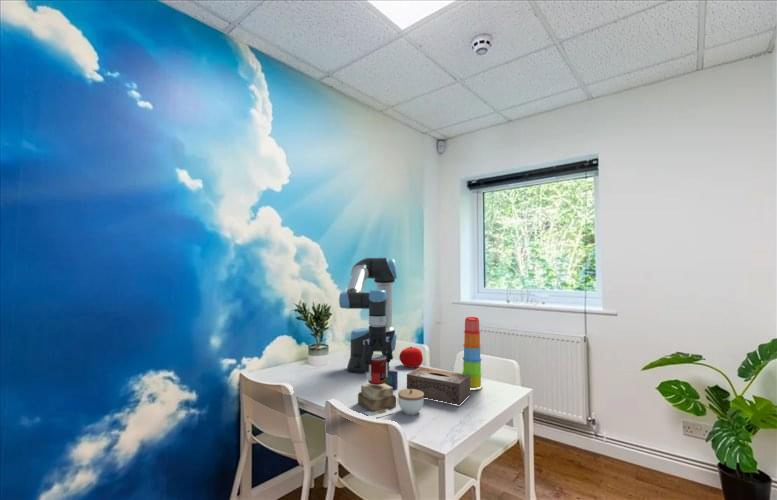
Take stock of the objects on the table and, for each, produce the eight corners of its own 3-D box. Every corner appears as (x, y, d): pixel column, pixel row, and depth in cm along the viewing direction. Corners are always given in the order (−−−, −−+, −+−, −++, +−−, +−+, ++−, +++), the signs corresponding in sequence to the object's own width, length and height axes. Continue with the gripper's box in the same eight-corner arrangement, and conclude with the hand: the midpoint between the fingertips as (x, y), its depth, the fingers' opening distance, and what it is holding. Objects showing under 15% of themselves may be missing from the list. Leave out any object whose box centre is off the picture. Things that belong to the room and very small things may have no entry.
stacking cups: (486, 387, 185) (485, 317, 186) (475, 392, 177) (475, 319, 178) (468, 382, 192) (468, 315, 193) (457, 387, 184) (457, 317, 185)
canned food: (384, 385, 156) (384, 359, 157) (365, 384, 158) (366, 358, 158) (387, 379, 164) (387, 354, 164) (370, 378, 165) (370, 353, 166)
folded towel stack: (381, 397, 169) (381, 380, 169) (396, 406, 159) (396, 387, 159) (357, 403, 162) (357, 384, 163) (372, 412, 152) (372, 393, 152)
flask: (398, 388, 182) (398, 366, 182) (396, 390, 179) (396, 368, 180) (380, 386, 185) (380, 364, 185) (378, 388, 182) (378, 366, 182)
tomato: (419, 370, 212) (419, 350, 212) (397, 368, 217) (397, 348, 217) (425, 365, 223) (425, 346, 224) (403, 362, 228) (403, 344, 229)
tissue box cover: (406, 395, 173) (406, 374, 173) (420, 386, 185) (420, 366, 185) (459, 407, 160) (459, 383, 160) (470, 396, 172) (470, 375, 172)
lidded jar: (396, 407, 158) (396, 385, 159) (421, 406, 159) (421, 384, 159) (399, 417, 148) (399, 394, 148) (426, 417, 148) (426, 393, 149)
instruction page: (384, 407, 157) (384, 407, 157) (393, 413, 152) (393, 412, 152) (363, 413, 152) (363, 412, 152) (372, 419, 146) (372, 418, 146)
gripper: (361, 328, 153) (360, 384, 152) (401, 324, 164) (401, 376, 164) (352, 326, 159) (351, 379, 158) (391, 322, 171) (391, 372, 170)
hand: (376, 377), depth 161 cm, fingers closed on canned food, 8 cm apart
